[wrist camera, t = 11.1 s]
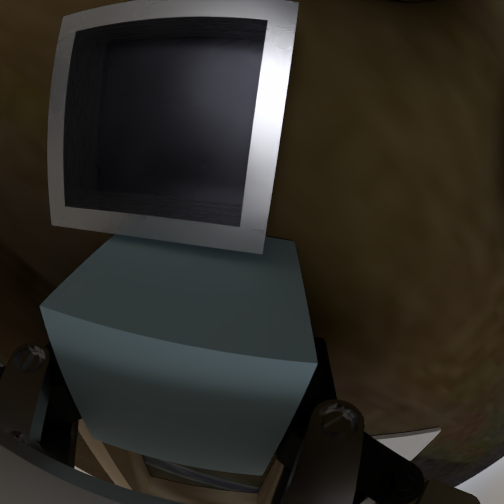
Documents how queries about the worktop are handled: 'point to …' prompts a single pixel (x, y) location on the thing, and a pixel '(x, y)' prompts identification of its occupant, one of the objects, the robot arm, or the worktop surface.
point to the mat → (408, 441)
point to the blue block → (185, 349)
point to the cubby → (197, 498)
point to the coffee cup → (415, 0)
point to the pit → (170, 119)
